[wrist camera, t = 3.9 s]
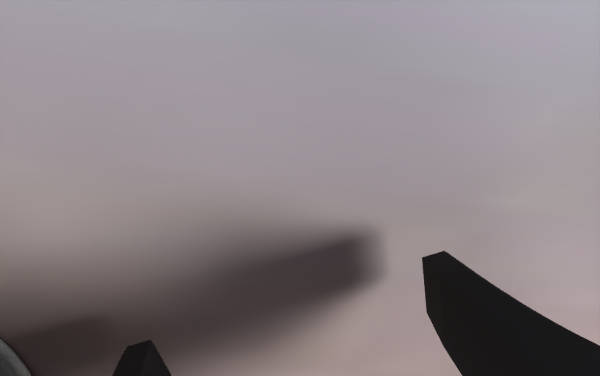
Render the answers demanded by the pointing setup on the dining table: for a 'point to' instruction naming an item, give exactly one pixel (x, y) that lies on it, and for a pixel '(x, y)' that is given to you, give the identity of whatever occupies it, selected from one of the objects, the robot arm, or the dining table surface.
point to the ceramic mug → (11, 362)
